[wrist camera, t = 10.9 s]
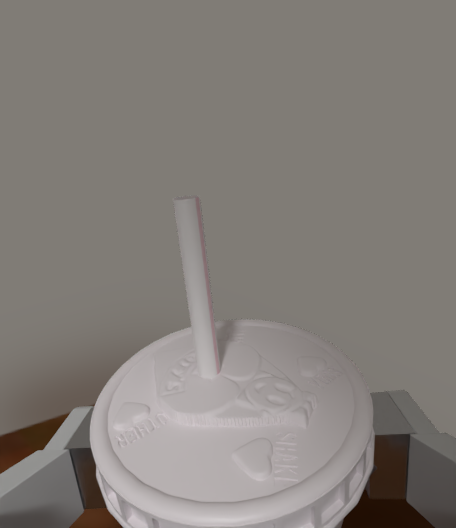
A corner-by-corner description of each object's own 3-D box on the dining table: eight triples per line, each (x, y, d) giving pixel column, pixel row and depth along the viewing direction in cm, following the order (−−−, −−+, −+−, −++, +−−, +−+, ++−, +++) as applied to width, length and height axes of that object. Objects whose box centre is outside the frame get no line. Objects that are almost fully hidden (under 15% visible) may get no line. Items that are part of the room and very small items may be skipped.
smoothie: (226, 493, 15) (184, 181, 11) (377, 577, 12) (412, 172, 7) (114, 674, 10) (-55, 230, 6) (322, 911, 7) (323, 274, 2)
